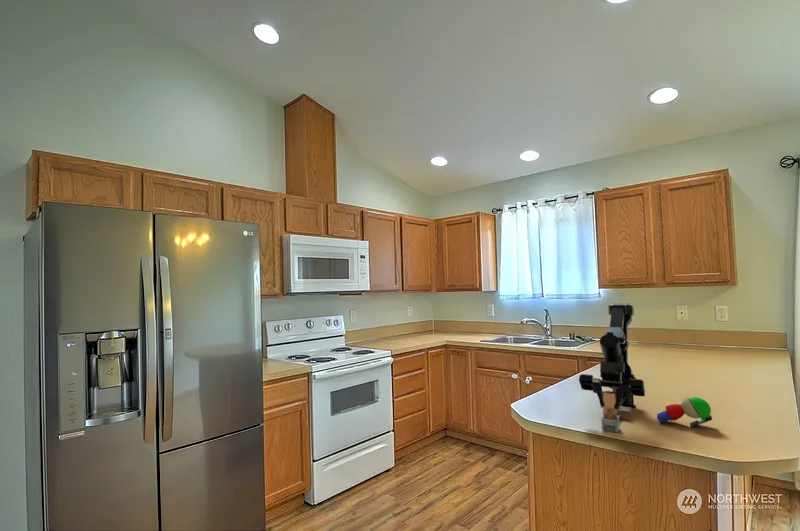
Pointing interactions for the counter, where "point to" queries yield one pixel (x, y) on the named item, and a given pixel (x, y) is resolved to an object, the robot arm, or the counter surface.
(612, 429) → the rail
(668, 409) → the toy
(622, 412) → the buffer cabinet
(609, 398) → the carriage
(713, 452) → the counter surface
